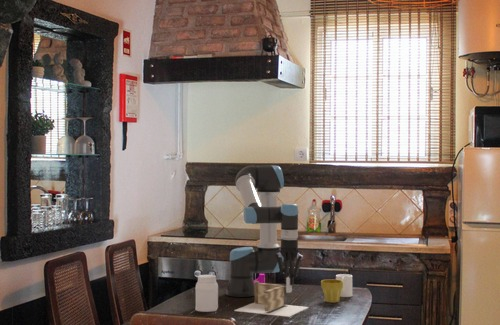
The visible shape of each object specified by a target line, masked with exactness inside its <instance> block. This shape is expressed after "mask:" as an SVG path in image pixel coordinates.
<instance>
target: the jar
mask: <svg viewBox="0 0 500 325" xmlns="http://www.w3.org/2000/svg"><path fill="white" fill-rule="evenodd" d="M194 309H195V311H196V312H201V313H202V312H203V313H205V312H207V313H208V312H211V313H212V312H216V311H217V310H218V309H219V284H218V282H217V275H214V274H201V275H197V282H196V283H195V308H194Z"/></svg>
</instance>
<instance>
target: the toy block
mask: <svg viewBox="0 0 500 325" xmlns="http://www.w3.org/2000/svg"><path fill="white" fill-rule="evenodd" d="M258 274H259V275H258V277H257V278H256V279H253V281H254V284H255V281H259V283H266V278H265V277H266V275H265V273H258Z"/></svg>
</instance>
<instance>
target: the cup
mask: <svg viewBox="0 0 500 325" xmlns="http://www.w3.org/2000/svg"><path fill="white" fill-rule="evenodd" d="M335 280H341V281H343V288H342V289H341V294H340V298H350V297H353V275H352V274H347V273H343V274H342V273H340V274H336V275H335Z"/></svg>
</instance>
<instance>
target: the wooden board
mask: <svg viewBox="0 0 500 325" xmlns="http://www.w3.org/2000/svg"><path fill="white" fill-rule="evenodd" d="M264 293H265V311H270V310H273V309H275V308H278V307H281V306H283V305H287V293H286V285H282V286H279V287H276V288H273V289H269V290H266V291H264Z"/></svg>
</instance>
